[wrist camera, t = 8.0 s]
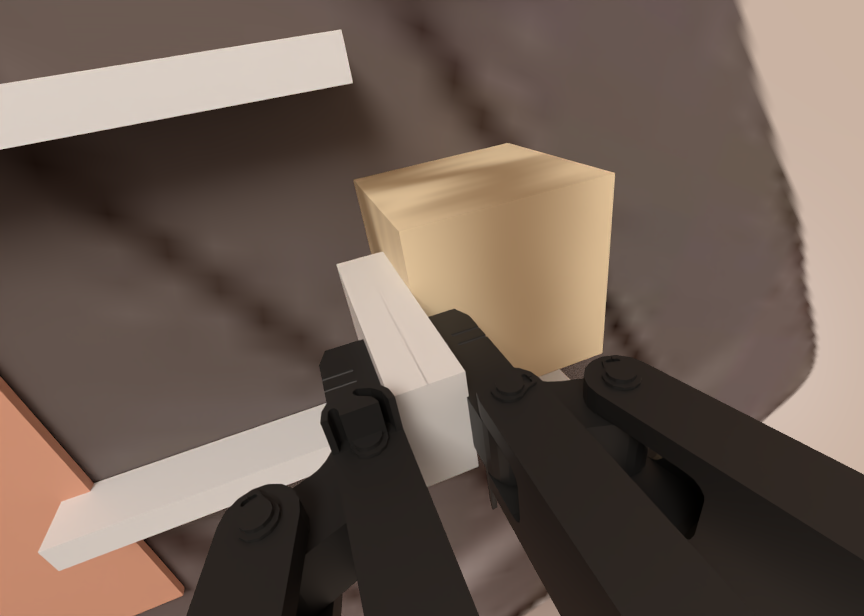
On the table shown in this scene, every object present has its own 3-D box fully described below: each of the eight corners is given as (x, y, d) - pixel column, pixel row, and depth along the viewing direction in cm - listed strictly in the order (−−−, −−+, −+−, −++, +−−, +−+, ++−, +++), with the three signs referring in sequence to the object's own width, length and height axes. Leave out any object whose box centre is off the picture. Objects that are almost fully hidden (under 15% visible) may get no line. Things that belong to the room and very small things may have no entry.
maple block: (387, 321, 18) (435, 415, 13) (352, 179, 15) (399, 231, 10) (514, 281, 19) (602, 353, 14) (506, 142, 16) (615, 173, 11)
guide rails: (83, 511, 17) (58, 571, 15) (-274, 134, 10) (-415, 150, 8) (411, 394, 20) (428, 431, 18) (328, 36, 13) (341, 29, 11)
